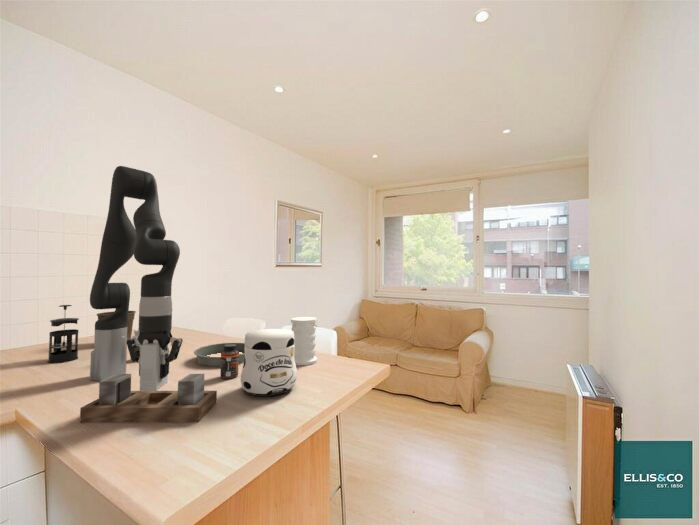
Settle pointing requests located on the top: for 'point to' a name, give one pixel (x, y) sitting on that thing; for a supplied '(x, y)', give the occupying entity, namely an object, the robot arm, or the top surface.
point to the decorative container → (304, 340)
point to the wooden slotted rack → (149, 402)
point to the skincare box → (150, 368)
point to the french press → (69, 353)
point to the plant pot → (129, 324)
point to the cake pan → (215, 349)
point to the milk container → (269, 362)
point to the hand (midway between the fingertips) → (154, 377)
